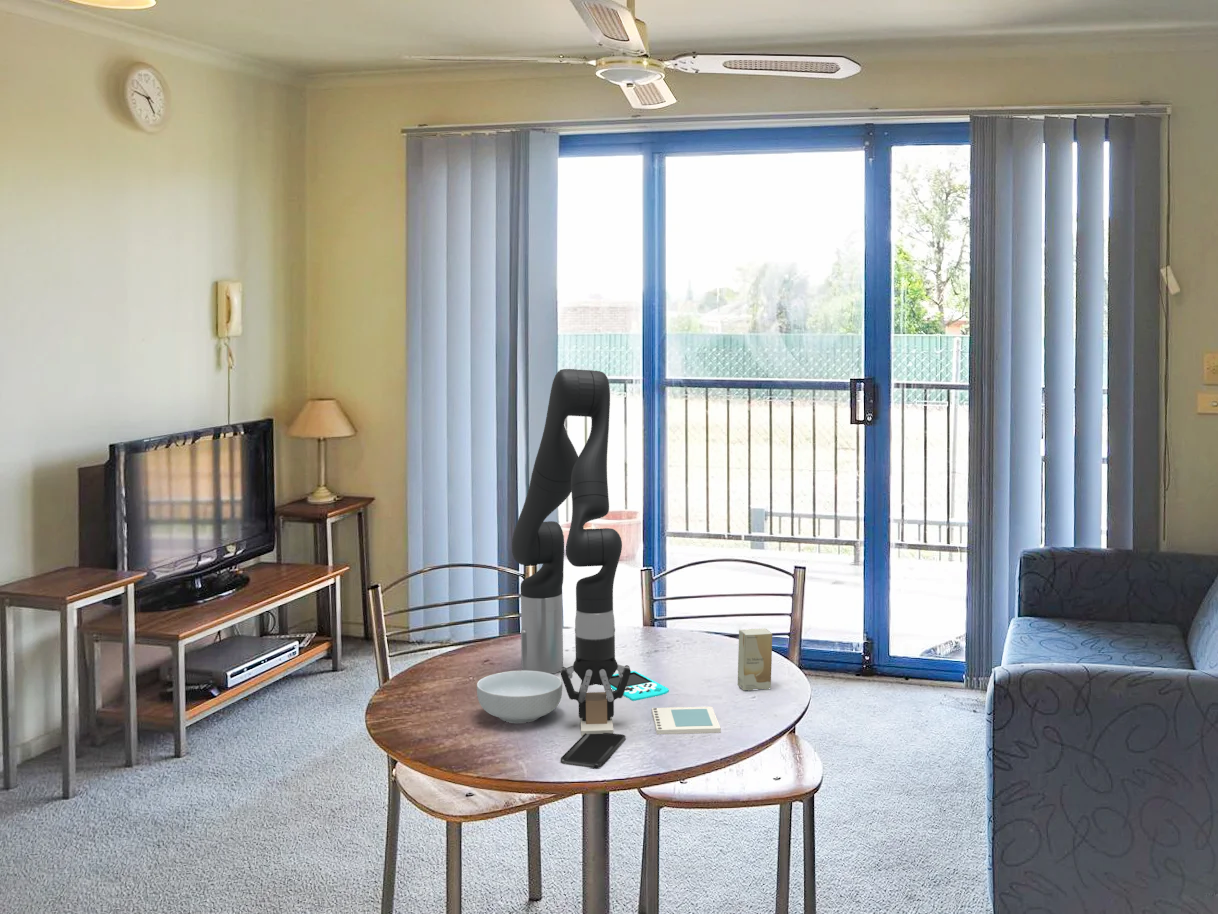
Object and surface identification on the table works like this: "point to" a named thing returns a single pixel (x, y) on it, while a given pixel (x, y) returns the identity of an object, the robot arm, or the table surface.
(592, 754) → the phone
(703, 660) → the table surface
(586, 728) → the brown cream block
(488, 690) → the cereal bowl
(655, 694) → the handheld game console
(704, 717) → the ticket pad
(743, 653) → the skincare box
